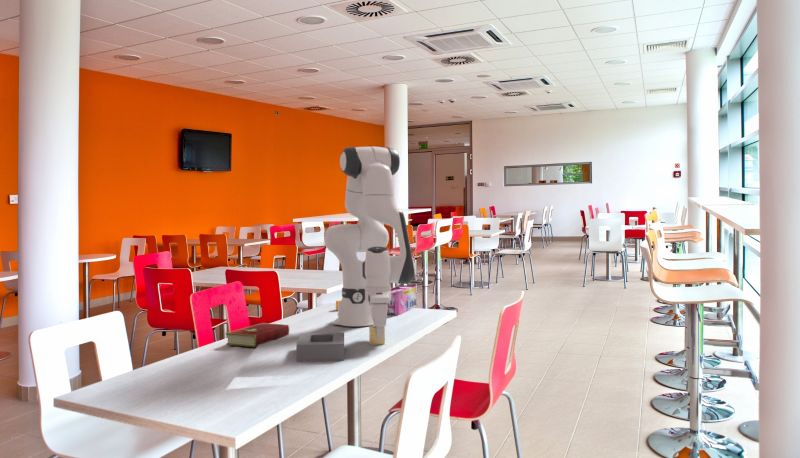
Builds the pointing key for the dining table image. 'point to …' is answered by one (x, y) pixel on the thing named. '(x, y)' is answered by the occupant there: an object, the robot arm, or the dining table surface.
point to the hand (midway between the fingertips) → (378, 336)
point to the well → (320, 347)
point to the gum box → (402, 299)
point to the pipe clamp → (337, 304)
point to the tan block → (375, 336)
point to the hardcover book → (257, 334)
